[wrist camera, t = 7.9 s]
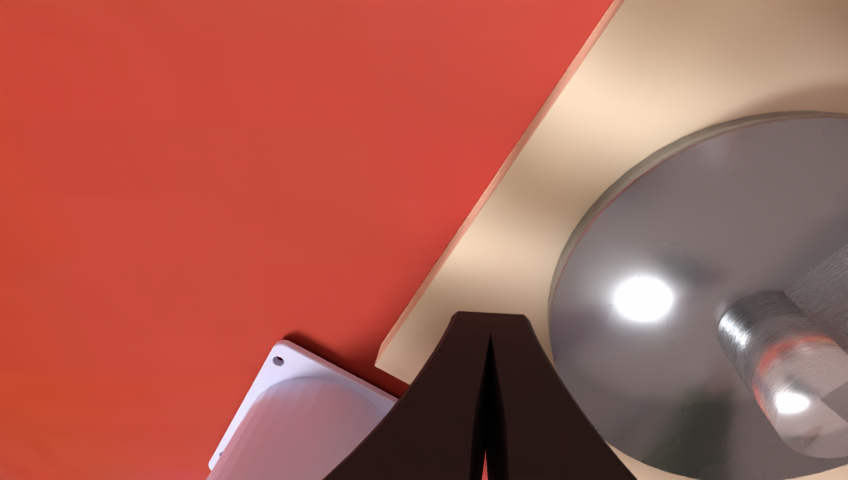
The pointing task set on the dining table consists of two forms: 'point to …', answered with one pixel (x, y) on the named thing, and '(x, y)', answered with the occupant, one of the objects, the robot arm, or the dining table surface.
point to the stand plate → (621, 148)
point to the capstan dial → (716, 302)
